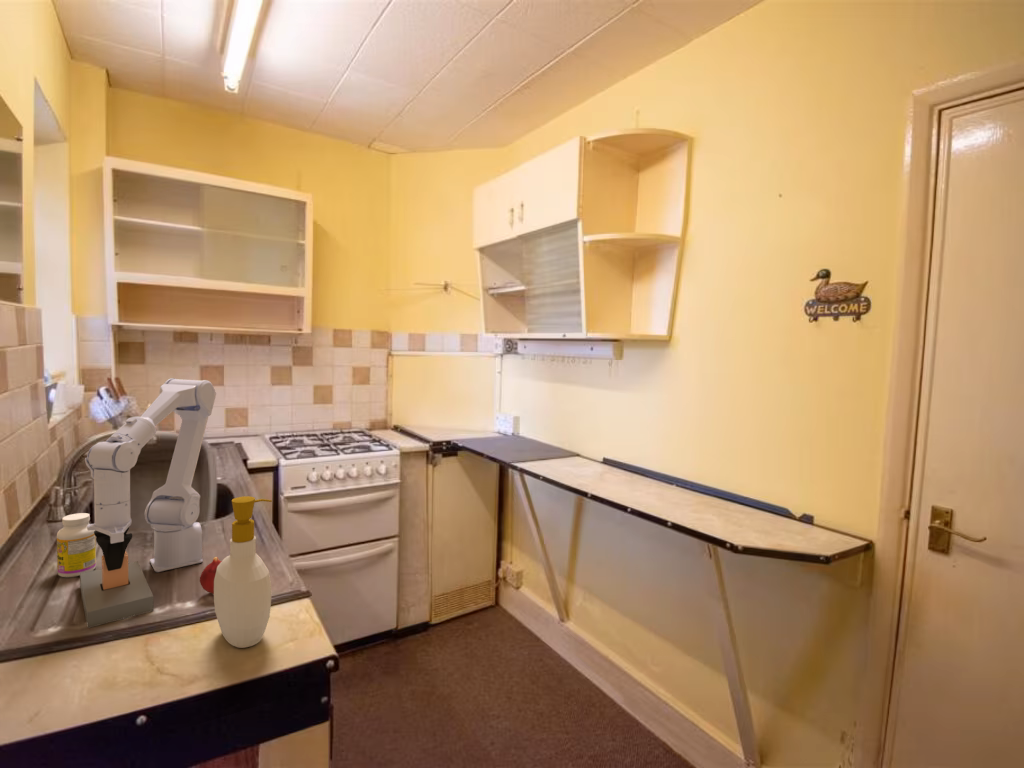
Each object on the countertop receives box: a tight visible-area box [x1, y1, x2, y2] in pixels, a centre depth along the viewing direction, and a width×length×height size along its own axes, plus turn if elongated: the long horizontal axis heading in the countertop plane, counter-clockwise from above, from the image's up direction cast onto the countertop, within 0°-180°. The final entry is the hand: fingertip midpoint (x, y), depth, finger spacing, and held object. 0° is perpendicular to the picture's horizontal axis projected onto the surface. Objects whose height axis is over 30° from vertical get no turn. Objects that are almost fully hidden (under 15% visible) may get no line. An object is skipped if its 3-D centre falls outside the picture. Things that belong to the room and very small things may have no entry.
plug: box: [101, 550, 129, 590], centre depth 104 cm, size 4×3×6 cm
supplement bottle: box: [56, 512, 97, 578], centre depth 114 cm, size 7×7×13 cm
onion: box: [199, 556, 223, 595], centre depth 108 cm, size 6×6×8 cm
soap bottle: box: [213, 495, 273, 649], centre depth 93 cm, size 14×9×26 cm, turn 48°
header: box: [79, 560, 154, 629], centre depth 104 cm, size 10×20×3 cm, turn 43°
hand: (113, 566), depth 104 cm, fingers closed on plug, 3 cm apart
